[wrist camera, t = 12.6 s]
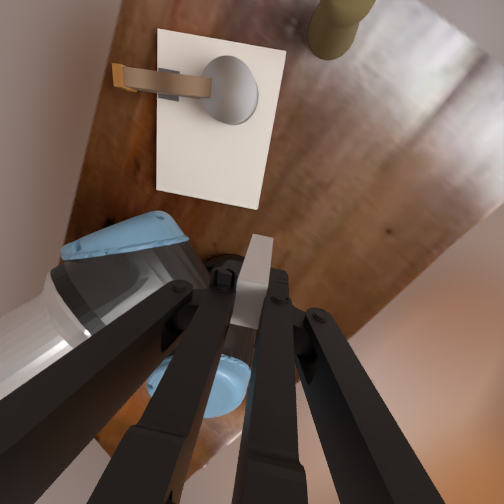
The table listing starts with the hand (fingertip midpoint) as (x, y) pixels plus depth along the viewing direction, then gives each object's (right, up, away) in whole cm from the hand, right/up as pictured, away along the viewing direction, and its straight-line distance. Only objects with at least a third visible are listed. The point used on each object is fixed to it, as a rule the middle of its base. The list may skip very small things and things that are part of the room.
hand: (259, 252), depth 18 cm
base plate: (-6, +19, +19) cm, 28 cm away
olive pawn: (+10, +28, +13) cm, 33 cm away
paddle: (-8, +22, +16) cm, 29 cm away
